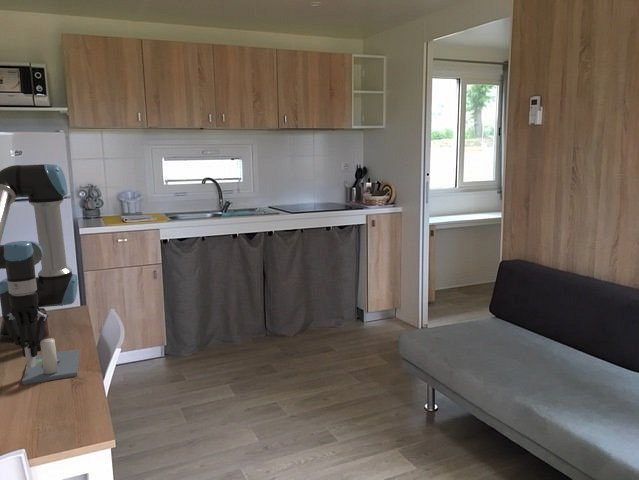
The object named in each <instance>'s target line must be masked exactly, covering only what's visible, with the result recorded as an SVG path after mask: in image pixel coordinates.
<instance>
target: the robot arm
mask: <svg viewBox="0 0 639 480" xmlns="http://www.w3.org/2000/svg"><path fill="white" fill-rule="evenodd" d="M67 195H68V185H67V180H66V177H65V173H64V171H63V169H62V167H60V166H59V165H58V164H49V163H48V164H47V163H44V164H42V163H41V164H26V165H24V164H20V165H19V164H15V165H10V166H7V167H4V168H2V169H1V170H0V270H5V273H6V278H4V279H2V280H1V281H0V310H1V317H2V320H1V324H0V341H1V342H5V343H14V345H15V346H20V347H21V348H22V356H23V357H24V358H25V364H26V366H27V368H32V367H34V366H35V365H36V358H35V356H37V355H38V350H37V345H39V344H40V341H41V340H43V335H44V328H45V321H46V319H47V320H48V318H49V314H48V313H47V314H43V313H41V312H40V309H39V308H46V307H47V308H48V307H59V306H61V307H63V306H68V305H72V304H74V302H75V301H76V299H77V293H78V276H77V274H75V273H73V271H72V268H71V267H69V266H68V264H67V257H66V247H65V239H64V232H63V231H64V230H63V222H62V213H61V206H60V205H61V204H62V203H63V201H65V200H64V197H65V196H67ZM18 198H27V199H28V203H29V204H30V205H31V206H33V211H34V218H35V224H36V225H35V226H36V234H37V240H38V241H37V242H36V241H28V240H17V241H11V242H6V243H5V244H1V243H2V240H3V239H2V238H3V234H4V231H5V226H6V223H7V220H8V216H9V211H10V208H11V205H12V204H13V203H14V202H15V201H16V199H18ZM39 263H41V269H40V270H39V272H38V273H37V277H36V270H35V269H36V268H35V267H36V265H37V264H39ZM37 316H38V318H37ZM36 318H37V320H38V322H37V328H36V327H35V323H36Z"/></svg>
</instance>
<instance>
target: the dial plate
mask: <svg viewBox="0 0 639 480" xmlns="http://www.w3.org/2000/svg"><path fill="white" fill-rule="evenodd" d="M80 355H81V354H80V348H76V349H68V350H61V351H56V356H57V357H58V358H60V362H59V363H57V365H58V371H57V372H55V373H52V374H44V371H43V363H42V354H37V356H35V358H36V365H35V366H34V367H32V368H27V365H26V367H25V372H24V374H23V377H22V380H21V383H22V386H24V385H29V384H37V383H43V382H49V381H55V380H61V379H66V378H67V379H69V378H73V377H77V376H78V371H79V364H80V363H79V361H80Z"/></svg>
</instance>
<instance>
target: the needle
mask: <svg viewBox="0 0 639 480" xmlns="http://www.w3.org/2000/svg"><path fill="white" fill-rule="evenodd" d="M40 345H41V350H40V353H41V354H42V363H43V371H44V374H52V373H55V372H57V371H58V365H57V363H59V362H60V358H58V357H57V356H56V352H57V349H56V348H57V347H56V340H55V338H52V337H51V338H50V337H49V338H48V339H44V340H41V341H40ZM41 354H40V355H41Z"/></svg>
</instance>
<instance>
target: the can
mask: <svg viewBox="0 0 639 480" xmlns="http://www.w3.org/2000/svg"><path fill="white" fill-rule="evenodd" d="M39 309H40V312H41V313H43V314H48V313H47V310H46V309H45V307H39ZM37 318H38V316H37ZM37 318H36V323H35V327H36V328H37V322H38V320H37ZM48 338H50V333H49V324H48V318H47V319H46V321H45V328H44V335H43V340H44V339H48ZM37 351H41V345H40V344H39V345H37Z"/></svg>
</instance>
